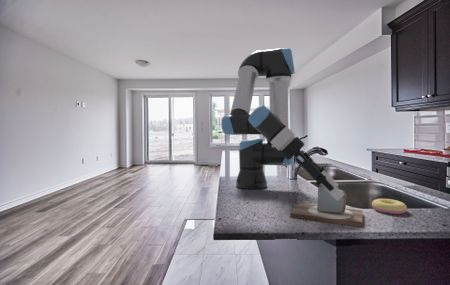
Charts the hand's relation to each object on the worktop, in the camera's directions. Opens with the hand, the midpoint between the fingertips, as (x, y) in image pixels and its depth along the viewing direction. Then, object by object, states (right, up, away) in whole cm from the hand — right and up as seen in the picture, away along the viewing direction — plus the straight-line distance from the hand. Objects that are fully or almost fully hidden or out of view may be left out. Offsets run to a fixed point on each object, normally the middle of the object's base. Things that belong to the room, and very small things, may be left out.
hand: (337, 192), depth 79 cm
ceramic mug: (-2, -6, +2) cm, 7 cm away
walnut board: (-3, -8, +2) cm, 8 cm away
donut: (+19, -8, +6) cm, 22 cm away
